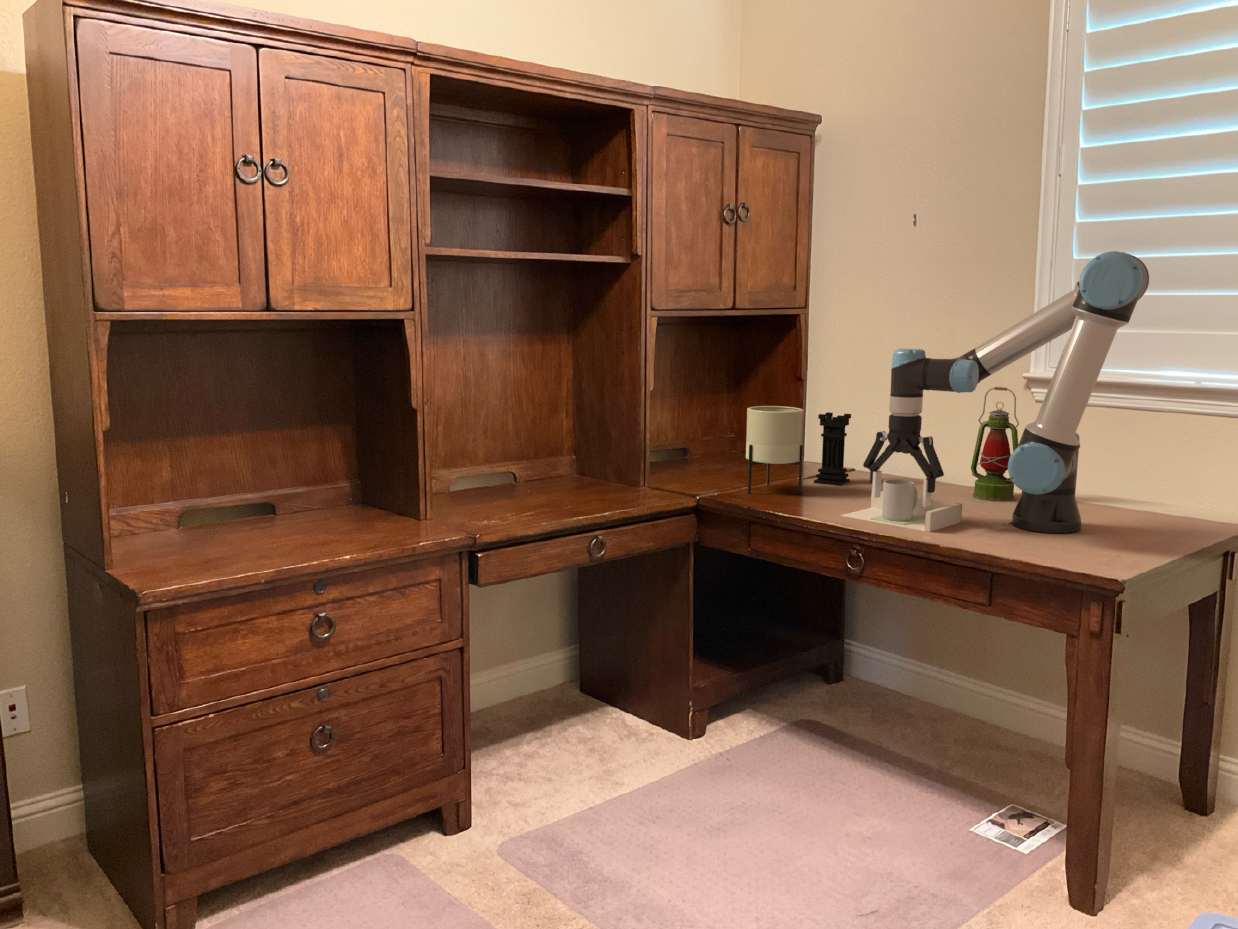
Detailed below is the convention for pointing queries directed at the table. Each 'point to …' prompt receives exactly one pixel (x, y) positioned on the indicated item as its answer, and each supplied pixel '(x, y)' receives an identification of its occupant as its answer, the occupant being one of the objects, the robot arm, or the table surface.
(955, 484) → the table surface
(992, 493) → the lantern
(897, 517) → the cup
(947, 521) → the tray
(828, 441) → the chess piece
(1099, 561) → the table surface
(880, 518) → the pad
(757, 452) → the planter
